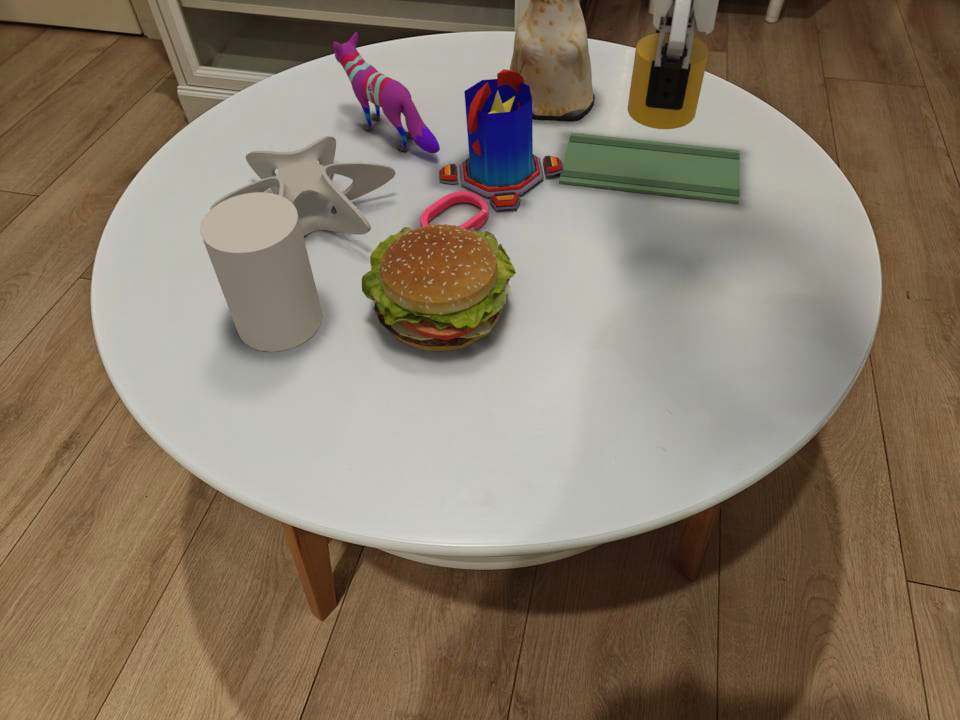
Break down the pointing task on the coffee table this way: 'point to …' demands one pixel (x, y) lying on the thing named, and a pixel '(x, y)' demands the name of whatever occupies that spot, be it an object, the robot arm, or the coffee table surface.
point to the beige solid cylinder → (263, 270)
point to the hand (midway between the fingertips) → (666, 84)
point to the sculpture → (316, 185)
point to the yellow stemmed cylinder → (641, 79)
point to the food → (438, 285)
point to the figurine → (554, 59)
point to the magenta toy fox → (383, 97)
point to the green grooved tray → (652, 167)
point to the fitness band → (455, 198)
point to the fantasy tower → (500, 142)
